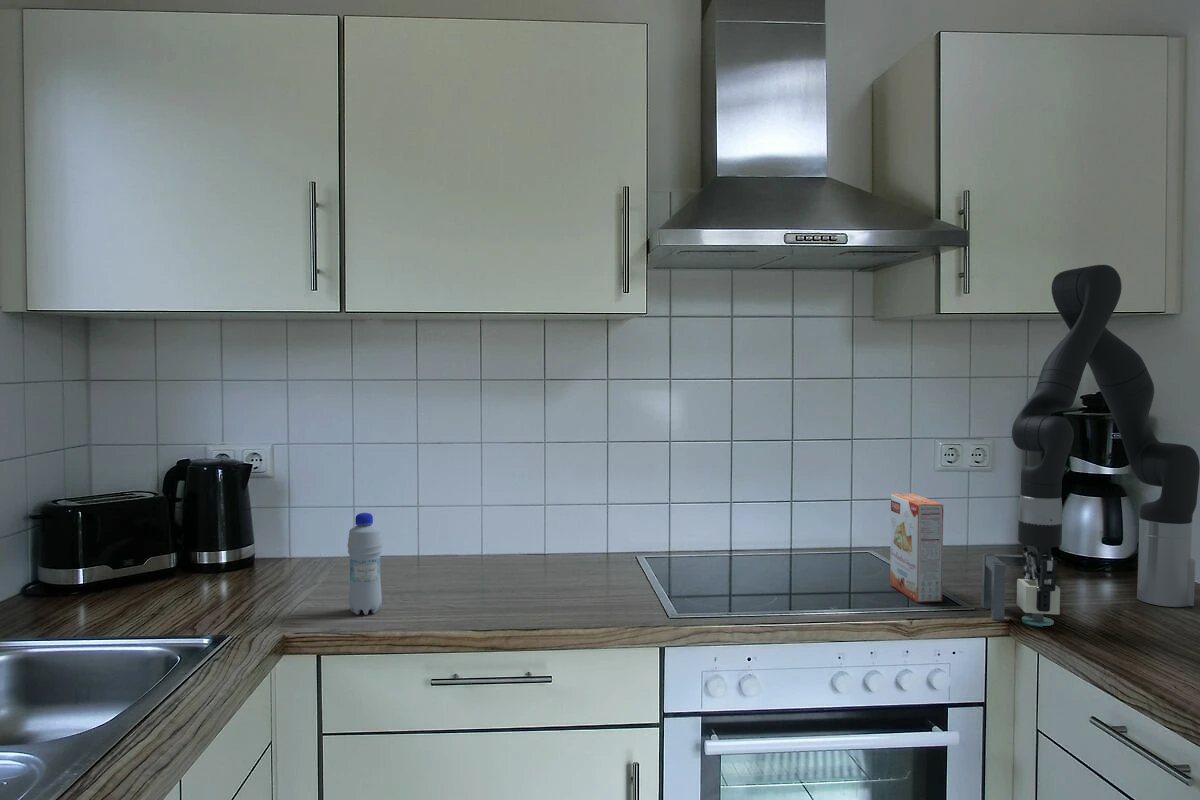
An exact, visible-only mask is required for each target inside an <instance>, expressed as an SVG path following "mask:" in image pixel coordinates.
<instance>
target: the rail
mask: <svg viewBox="0 0 1200 800" xmlns="http://www.w3.org/2000/svg"><path fill="white" fill-rule="evenodd" d="M981 562H982V563H981V564H982V565H981V567H982V568H981V604H980V605H981V607H982V609H983V608H985V609H984V610H990V618H991V619H992V621H1000V622H1002V621H1003V622H1005V612H1006V611H1005V609H1006V608H1005V607H1006V604H1005V602H1006V601H1005V600H1006V570H1007V569H1006V566H1013V567H1014V566H1015V567H1023V554H1022V555H1021V554H1001V553H1000V554H998V553H982V560H981ZM1025 577H1026V576H1023V579H1025Z"/></svg>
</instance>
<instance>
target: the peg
mask: <svg viewBox="0 0 1200 800" xmlns="http://www.w3.org/2000/svg"><path fill="white" fill-rule="evenodd" d="M1044 615H1045V614H1040V613H1031V615H1024V616H1022V617H1021V622H1022V623H1023V624H1025V625H1027V626H1031V627H1037V628H1044V627H1043V626H1051V625H1053V624H1054V625H1055V621H1054V620H1053V619H1051V618H1048V617H1045V616H1044Z"/></svg>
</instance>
